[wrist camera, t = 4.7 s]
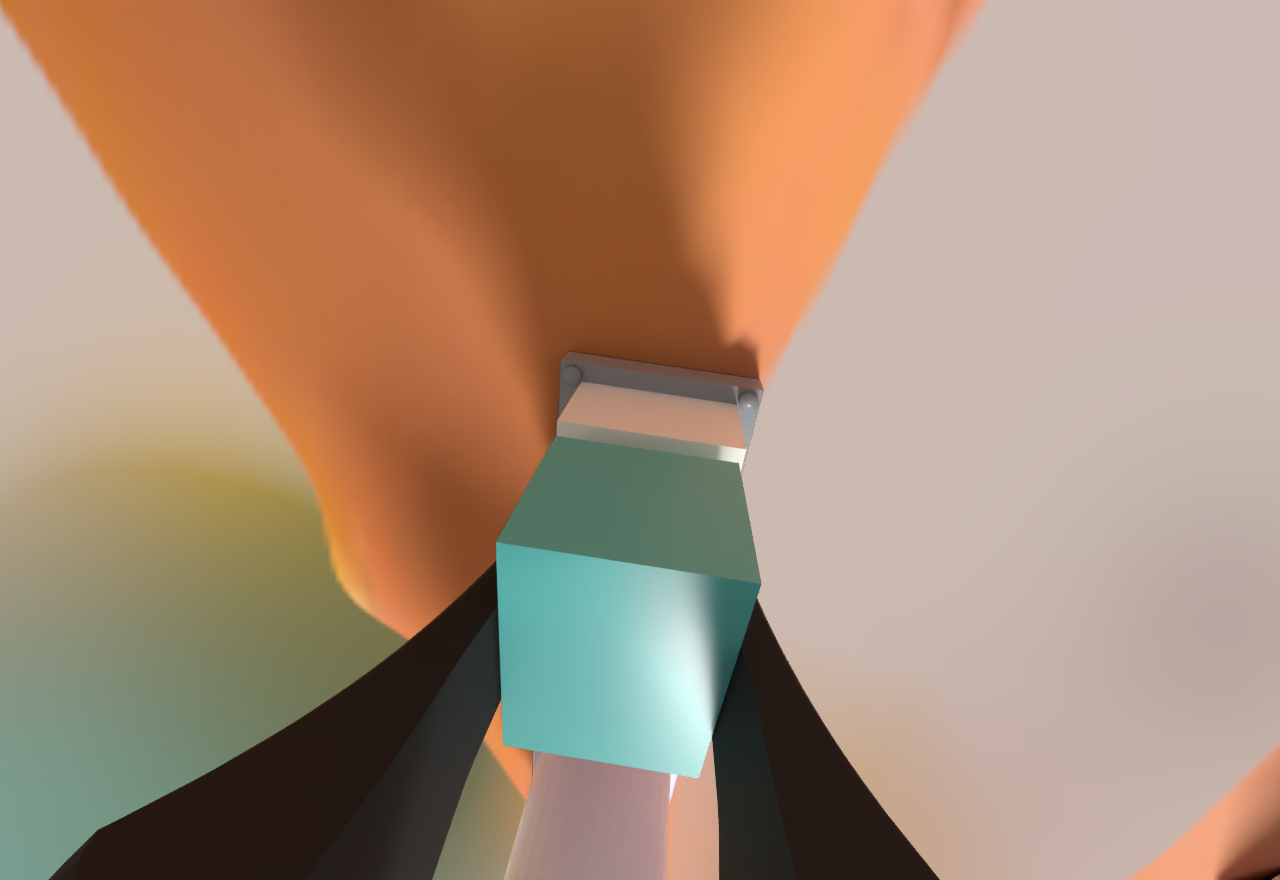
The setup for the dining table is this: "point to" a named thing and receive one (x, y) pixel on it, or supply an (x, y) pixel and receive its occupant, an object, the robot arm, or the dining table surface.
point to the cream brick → (654, 422)
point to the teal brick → (623, 604)
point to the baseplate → (663, 384)
